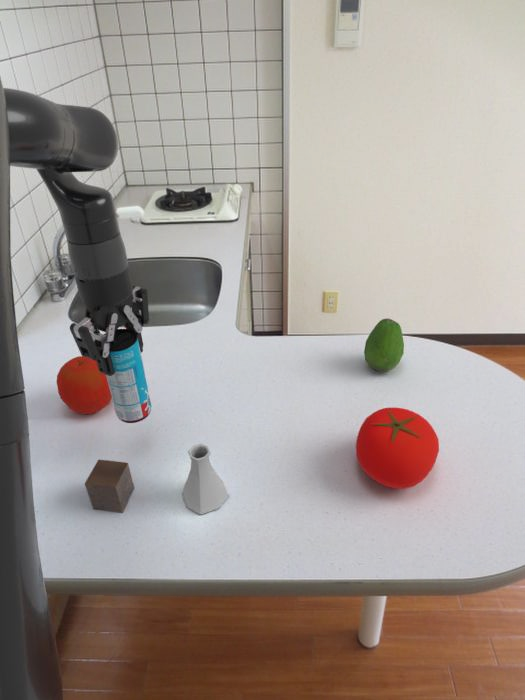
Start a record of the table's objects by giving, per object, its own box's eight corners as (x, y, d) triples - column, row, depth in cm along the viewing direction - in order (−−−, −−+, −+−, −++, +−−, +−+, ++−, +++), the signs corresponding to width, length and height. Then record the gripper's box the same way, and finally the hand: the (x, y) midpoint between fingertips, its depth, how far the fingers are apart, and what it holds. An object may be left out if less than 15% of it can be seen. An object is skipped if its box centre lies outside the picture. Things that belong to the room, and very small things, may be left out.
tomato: (368, 430, 95) (373, 385, 89) (441, 452, 90) (451, 406, 84) (340, 485, 85) (344, 438, 79) (420, 514, 80) (430, 466, 74)
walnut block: (122, 513, 82) (115, 487, 78) (93, 509, 83) (84, 483, 79) (134, 488, 86) (128, 462, 83) (106, 484, 87) (98, 459, 83)
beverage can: (159, 411, 89) (145, 337, 80) (130, 430, 85) (111, 354, 77) (138, 397, 92) (122, 324, 84) (109, 413, 89) (90, 339, 80)
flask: (211, 471, 88) (205, 427, 83) (237, 497, 84) (232, 453, 78) (174, 494, 85) (165, 450, 79) (199, 522, 80) (192, 477, 74)
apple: (128, 400, 104) (117, 353, 98) (88, 430, 98) (74, 381, 91) (94, 384, 109) (81, 337, 103) (54, 411, 102) (38, 363, 96)
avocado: (398, 382, 106) (406, 332, 99) (360, 375, 108) (364, 326, 102) (402, 359, 112) (409, 311, 106) (366, 354, 115) (370, 306, 108)
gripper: (116, 242, 80) (135, 334, 89) (41, 281, 70) (71, 380, 79) (154, 250, 77) (170, 346, 86) (81, 293, 67) (108, 395, 76)
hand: (122, 362), depth 83 cm, fingers closed on beverage can, 6 cm apart
